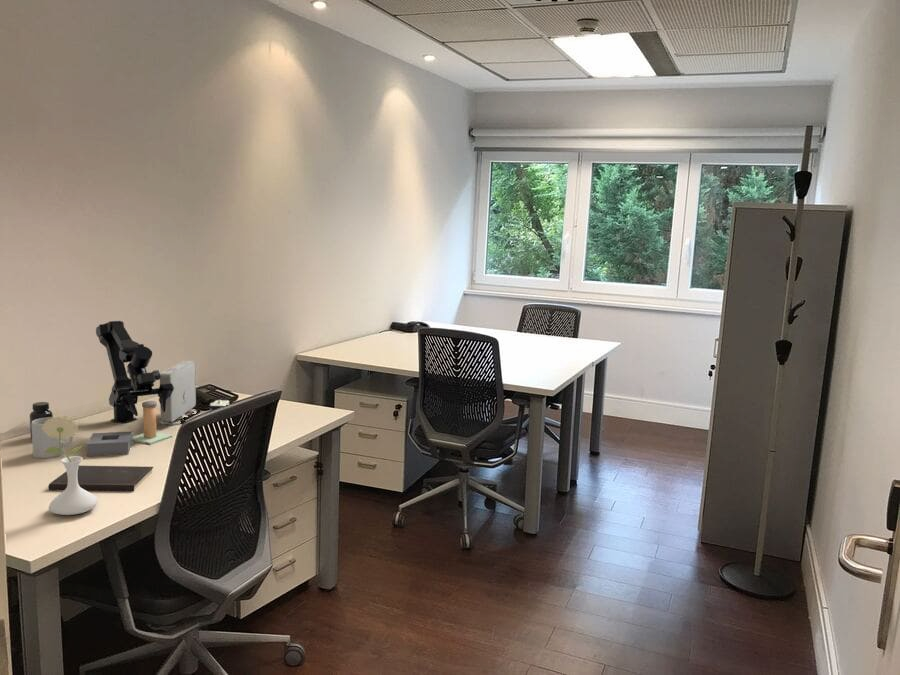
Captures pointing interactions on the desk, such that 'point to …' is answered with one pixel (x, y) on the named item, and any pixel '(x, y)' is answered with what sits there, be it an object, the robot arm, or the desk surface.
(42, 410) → the supplement bottle
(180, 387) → the network device
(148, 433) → the plug
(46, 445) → the mug
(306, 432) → the desk surface
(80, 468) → the hardcover book
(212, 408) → the pneumatic valve
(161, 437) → the mat
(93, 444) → the grey peg hole block
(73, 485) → the flower in vase
